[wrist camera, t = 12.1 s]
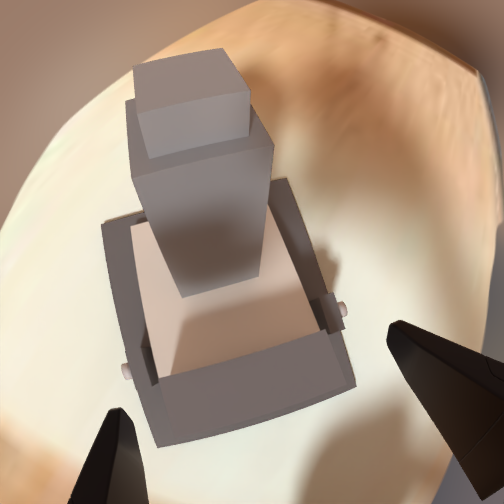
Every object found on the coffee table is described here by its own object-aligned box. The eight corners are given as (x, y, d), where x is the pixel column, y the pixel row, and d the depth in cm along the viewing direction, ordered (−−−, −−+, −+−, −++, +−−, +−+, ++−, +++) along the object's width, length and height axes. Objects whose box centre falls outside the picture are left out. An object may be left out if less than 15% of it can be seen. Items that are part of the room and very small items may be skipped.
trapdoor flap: (338, 386, 18) (355, 380, 15) (177, 436, 16) (165, 439, 13) (262, 196, 24) (264, 170, 22) (132, 230, 22) (120, 205, 20)
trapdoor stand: (354, 386, 22) (378, 392, 18) (158, 446, 19) (147, 465, 15) (285, 180, 26) (296, 153, 22) (102, 226, 23) (84, 205, 19)
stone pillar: (258, 276, 20) (279, 98, 9) (181, 298, 20) (115, 133, 8) (235, 214, 23) (234, 39, 11) (166, 232, 22) (115, 63, 10)
